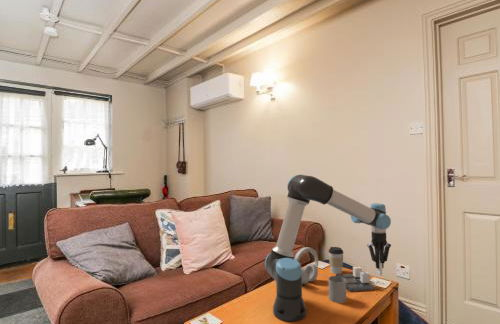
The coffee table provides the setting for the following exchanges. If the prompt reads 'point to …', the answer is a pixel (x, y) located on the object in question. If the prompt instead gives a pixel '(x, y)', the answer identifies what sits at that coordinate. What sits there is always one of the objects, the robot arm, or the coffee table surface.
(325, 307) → the coffee table surface
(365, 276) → the block
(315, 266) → the headphones
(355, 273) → the block
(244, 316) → the coffee table surface
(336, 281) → the cup
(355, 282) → the console
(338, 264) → the coffee cup
